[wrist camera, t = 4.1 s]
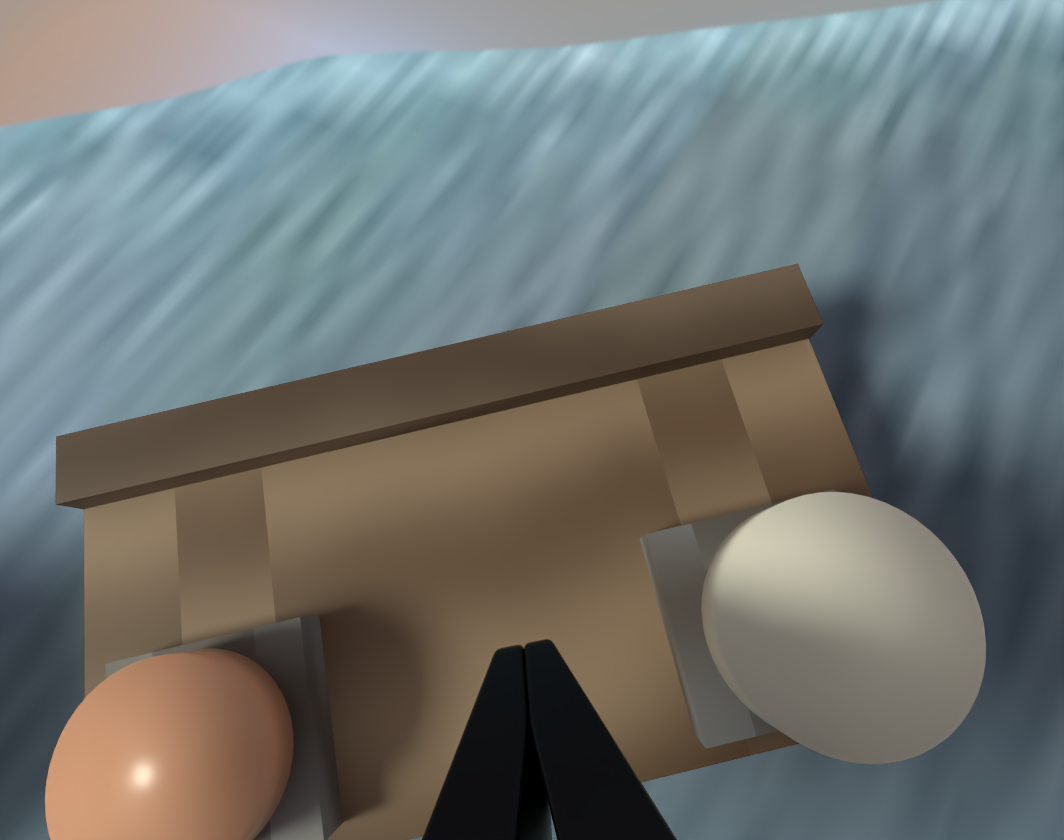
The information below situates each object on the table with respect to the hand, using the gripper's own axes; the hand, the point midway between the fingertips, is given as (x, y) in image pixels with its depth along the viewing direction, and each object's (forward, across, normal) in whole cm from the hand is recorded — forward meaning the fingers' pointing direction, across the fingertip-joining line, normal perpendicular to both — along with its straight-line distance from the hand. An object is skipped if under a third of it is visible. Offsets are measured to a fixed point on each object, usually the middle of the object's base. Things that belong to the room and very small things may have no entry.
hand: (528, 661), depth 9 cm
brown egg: (+6, +8, +8) cm, 13 cm away
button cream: (+5, -6, +6) cm, 10 cm away
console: (+9, +2, +6) cm, 11 cm away
